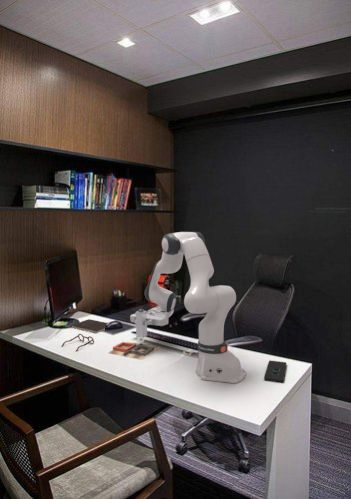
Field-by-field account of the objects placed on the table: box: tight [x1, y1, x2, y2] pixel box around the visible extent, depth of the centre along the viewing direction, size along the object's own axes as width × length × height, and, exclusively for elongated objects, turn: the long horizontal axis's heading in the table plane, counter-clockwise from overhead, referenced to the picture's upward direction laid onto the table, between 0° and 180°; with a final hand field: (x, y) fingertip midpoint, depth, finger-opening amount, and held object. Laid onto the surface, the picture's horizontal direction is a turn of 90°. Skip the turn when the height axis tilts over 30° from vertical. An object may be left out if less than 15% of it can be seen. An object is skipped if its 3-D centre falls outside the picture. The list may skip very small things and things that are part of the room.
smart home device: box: [263, 360, 287, 384], centre depth 164 cm, size 8×2×20 cm
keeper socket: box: [112, 341, 136, 352], centre depth 193 cm, size 9×9×2 cm
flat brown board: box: [107, 341, 161, 361], centre depth 190 cm, size 21×18×3 cm
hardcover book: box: [70, 318, 108, 334], centre depth 237 cm, size 16×23×2 cm
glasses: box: [61, 333, 95, 353], centre depth 203 cm, size 13×13×5 cm
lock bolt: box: [135, 308, 148, 339], centre depth 187 cm, size 4×4×14 cm
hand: (140, 323), depth 186 cm, fingers closed on lock bolt, 4 cm apart
